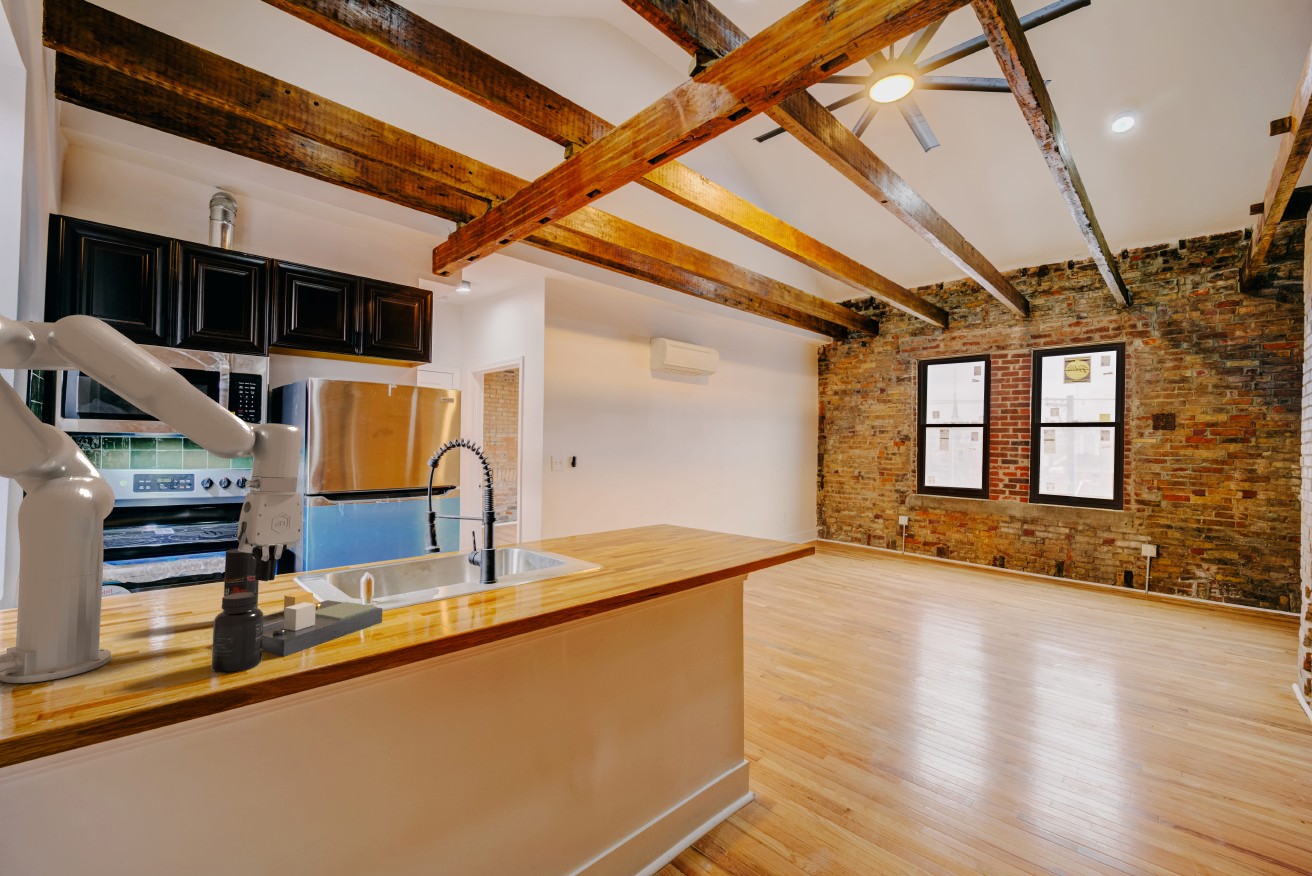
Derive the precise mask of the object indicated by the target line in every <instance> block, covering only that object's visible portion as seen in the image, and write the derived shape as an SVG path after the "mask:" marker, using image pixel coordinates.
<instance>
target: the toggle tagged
mask: <svg viewBox="0 0 1312 876" xmlns="http://www.w3.org/2000/svg"><path fill="white" fill-rule="evenodd" d="M283 600H284V602H283V610H284V616H285V607H289V606H293V605H296V604H300V603H304V602H305V603H312V604H313V603H314V592H311V591H299V592H295V593H291V594H286V595H284V597H283Z"/></svg>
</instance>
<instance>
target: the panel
mask: <svg viewBox="0 0 1312 876" xmlns="http://www.w3.org/2000/svg"><path fill="white" fill-rule="evenodd" d="M313 604H316V610H315V625H313V626H309V627H306V628H303V629H300V630H297V631H293V630H288V629H284V617H285V616H284V609H283V610H280V611H277V612H272V613H269V614H265V615H264V614H263V641H262V654H263V653H264V654H268V655H273V656H274V655H275V656H279V657H283V658H284V657H287V656H290V655H293V654H296V653H298V652H301V651H304V650H307V649H310V648H312V647H315V646H318V645H321V644H324V643H327V642H330V641H333V640H335V639H338V638H341V637H344V636H347V635H350V634H352V633H356V632H359V631H361V630H365V629H367V628H370V627H373V626H375V625H378V624H381V623H383V607H378V606H376V605H369V604H363V603H355V602H349V601H345V602H342V601H336V600H330V599H327V600H323V601H320V602H313Z"/></svg>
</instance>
